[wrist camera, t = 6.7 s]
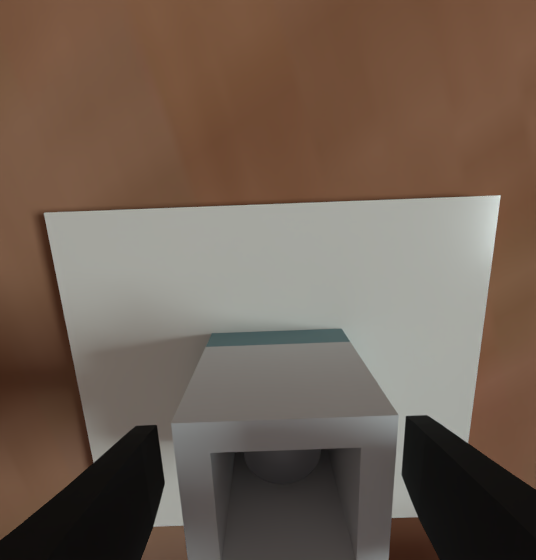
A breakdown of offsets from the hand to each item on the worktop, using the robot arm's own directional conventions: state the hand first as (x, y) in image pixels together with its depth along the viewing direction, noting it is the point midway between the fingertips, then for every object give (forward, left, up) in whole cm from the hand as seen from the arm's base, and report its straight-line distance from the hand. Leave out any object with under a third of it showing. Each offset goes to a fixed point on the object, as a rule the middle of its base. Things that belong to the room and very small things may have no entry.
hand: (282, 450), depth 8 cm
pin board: (0, 0, -4) cm, 4 cm away
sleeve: (0, 0, -3) cm, 3 cm away
